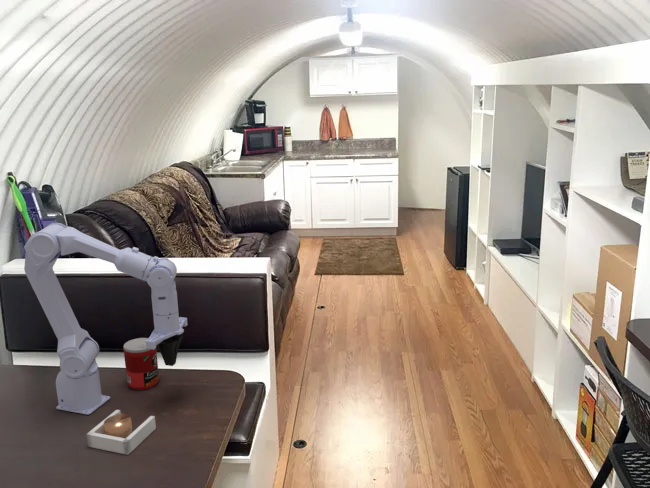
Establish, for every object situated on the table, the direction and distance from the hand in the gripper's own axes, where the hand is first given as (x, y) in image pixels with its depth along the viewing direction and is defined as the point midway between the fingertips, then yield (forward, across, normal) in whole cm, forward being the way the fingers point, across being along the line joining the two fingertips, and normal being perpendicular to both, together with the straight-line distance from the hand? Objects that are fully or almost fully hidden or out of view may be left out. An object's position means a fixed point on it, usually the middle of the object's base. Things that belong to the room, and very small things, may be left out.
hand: (170, 364), depth 136 cm
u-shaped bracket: (+9, -17, +2) cm, 20 cm away
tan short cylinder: (+10, -17, +3) cm, 20 cm away
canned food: (+10, +5, +12) cm, 16 cm away
